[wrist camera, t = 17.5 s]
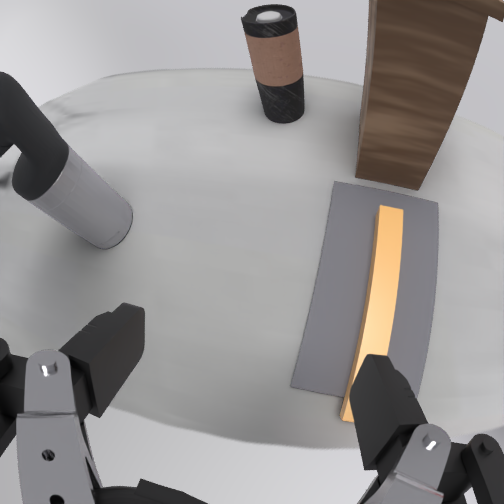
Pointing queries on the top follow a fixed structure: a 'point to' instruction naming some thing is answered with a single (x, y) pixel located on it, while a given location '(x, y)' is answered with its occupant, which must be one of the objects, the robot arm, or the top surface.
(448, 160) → the top surface
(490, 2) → the walnut pedestal
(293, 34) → the travel mug
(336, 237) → the gray mat
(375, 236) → the tan block
